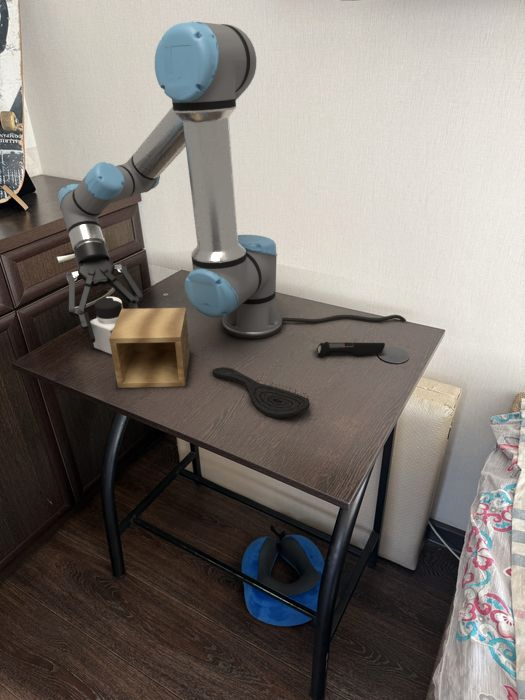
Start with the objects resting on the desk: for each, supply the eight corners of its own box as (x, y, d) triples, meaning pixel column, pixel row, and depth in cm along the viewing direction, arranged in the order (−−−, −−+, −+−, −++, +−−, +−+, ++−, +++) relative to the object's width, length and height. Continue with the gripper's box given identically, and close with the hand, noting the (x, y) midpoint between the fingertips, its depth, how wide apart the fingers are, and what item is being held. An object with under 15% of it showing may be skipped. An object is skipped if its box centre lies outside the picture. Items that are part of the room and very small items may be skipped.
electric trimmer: (385, 358, 115) (387, 347, 113) (317, 358, 115) (319, 346, 113) (381, 350, 118) (383, 338, 117) (316, 350, 118) (317, 338, 116)
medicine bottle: (115, 356, 115) (106, 309, 109) (93, 348, 118) (84, 302, 112) (137, 343, 120) (130, 298, 114) (116, 335, 123) (108, 291, 117)
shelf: (189, 353, 116) (185, 307, 110) (185, 386, 105) (180, 336, 99) (129, 355, 116) (121, 308, 109) (117, 388, 104) (108, 338, 98)
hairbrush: (226, 353, 111) (319, 392, 96) (228, 367, 113) (318, 408, 98) (199, 369, 106) (292, 413, 91) (201, 383, 107) (293, 429, 93)
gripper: (134, 248, 126) (160, 329, 122) (41, 263, 117) (66, 351, 114) (137, 233, 119) (165, 319, 116) (38, 248, 111) (65, 342, 107)
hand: (116, 335), depth 115 cm, fingers closed on medicine bottle, 9 cm apart
